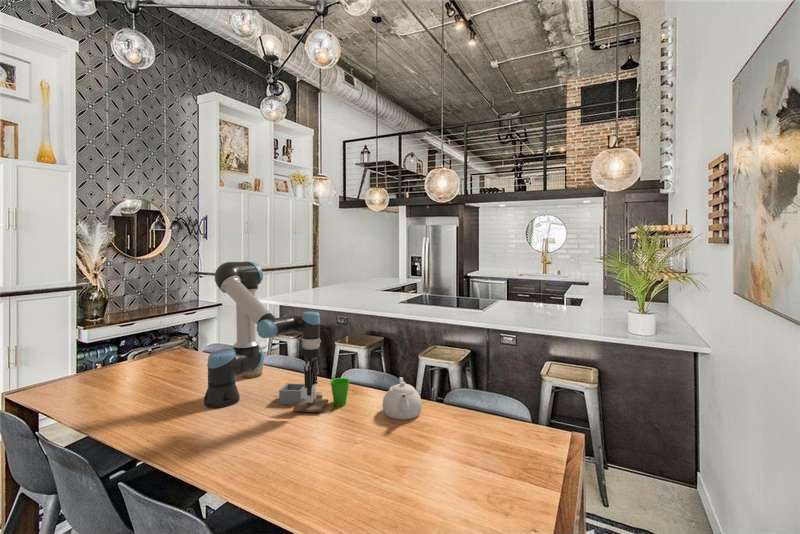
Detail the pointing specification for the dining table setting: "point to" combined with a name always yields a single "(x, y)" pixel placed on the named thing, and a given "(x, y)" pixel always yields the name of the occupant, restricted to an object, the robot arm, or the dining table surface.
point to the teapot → (402, 401)
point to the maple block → (318, 395)
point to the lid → (311, 404)
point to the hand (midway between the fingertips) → (311, 400)
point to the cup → (339, 390)
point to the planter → (254, 372)
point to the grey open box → (292, 393)
